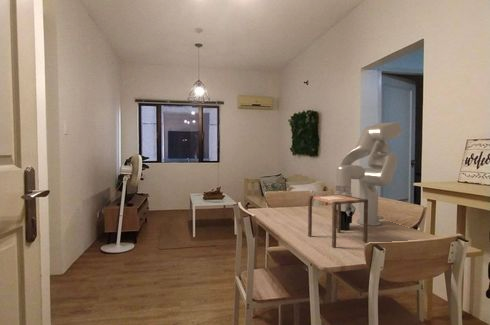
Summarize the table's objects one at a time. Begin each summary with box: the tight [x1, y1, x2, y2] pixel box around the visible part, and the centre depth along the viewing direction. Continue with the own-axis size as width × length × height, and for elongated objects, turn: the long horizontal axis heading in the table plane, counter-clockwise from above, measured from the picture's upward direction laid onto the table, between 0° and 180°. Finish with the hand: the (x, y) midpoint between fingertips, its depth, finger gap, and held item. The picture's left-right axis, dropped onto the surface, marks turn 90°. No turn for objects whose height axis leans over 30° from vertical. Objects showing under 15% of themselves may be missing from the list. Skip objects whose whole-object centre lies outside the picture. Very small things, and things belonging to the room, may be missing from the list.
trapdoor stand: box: [307, 194, 369, 249], centre depth 138 cm, size 19×19×20 cm
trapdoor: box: [312, 194, 361, 204], centre depth 137 cm, size 16×15×1 cm
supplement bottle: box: [336, 211, 351, 231], centre depth 156 cm, size 7×7×12 cm
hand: (342, 221), depth 156 cm, fingers open, 9 cm apart
